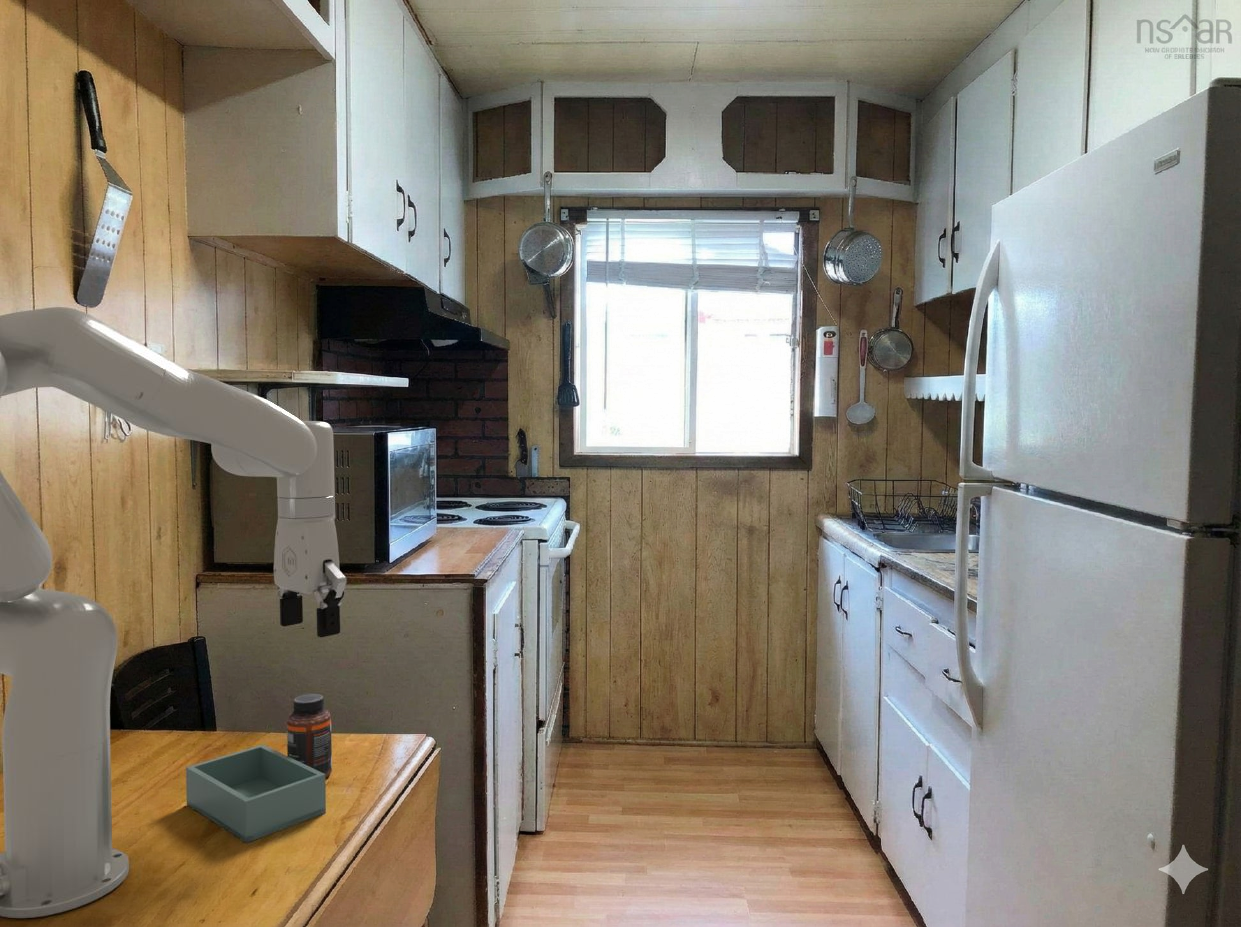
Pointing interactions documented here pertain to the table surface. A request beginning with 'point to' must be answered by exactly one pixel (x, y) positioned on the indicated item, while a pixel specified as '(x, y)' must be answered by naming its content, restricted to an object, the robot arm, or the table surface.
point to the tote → (255, 792)
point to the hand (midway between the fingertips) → (309, 629)
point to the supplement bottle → (310, 733)
